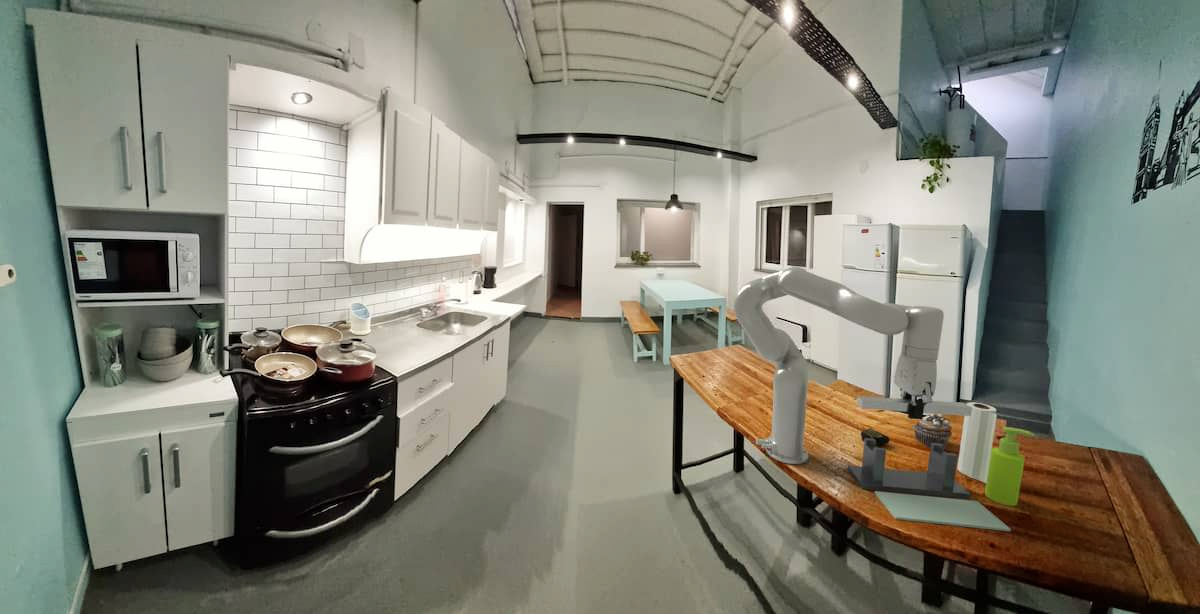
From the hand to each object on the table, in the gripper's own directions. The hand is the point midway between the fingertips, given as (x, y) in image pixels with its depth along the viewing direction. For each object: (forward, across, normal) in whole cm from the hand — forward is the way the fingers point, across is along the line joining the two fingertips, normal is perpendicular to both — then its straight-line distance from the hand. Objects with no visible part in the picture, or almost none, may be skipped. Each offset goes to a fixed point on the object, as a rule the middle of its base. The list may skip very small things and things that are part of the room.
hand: (910, 414), depth 102 cm
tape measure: (+22, -24, +4) cm, 32 cm away
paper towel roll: (+21, -8, +22) cm, 31 cm away
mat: (+21, +11, +2) cm, 24 cm away
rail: (-1, 0, 0) cm, 1 cm away
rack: (+21, 0, +1) cm, 21 cm away
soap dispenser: (+21, +3, +22) cm, 31 cm away
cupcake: (+21, -26, +22) cm, 40 cm away
